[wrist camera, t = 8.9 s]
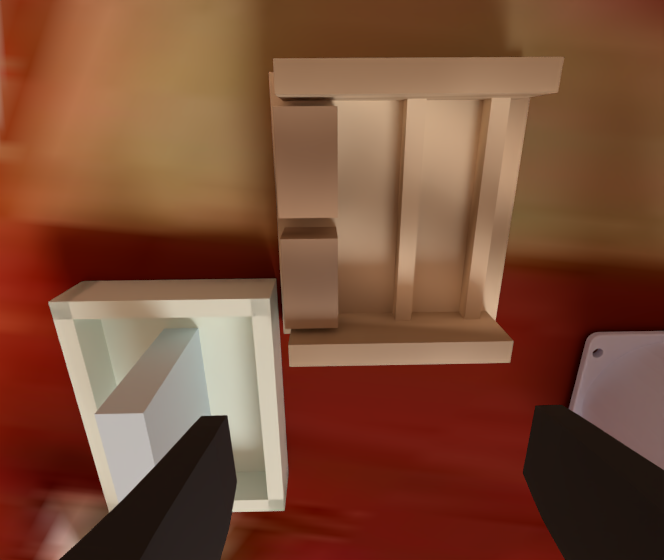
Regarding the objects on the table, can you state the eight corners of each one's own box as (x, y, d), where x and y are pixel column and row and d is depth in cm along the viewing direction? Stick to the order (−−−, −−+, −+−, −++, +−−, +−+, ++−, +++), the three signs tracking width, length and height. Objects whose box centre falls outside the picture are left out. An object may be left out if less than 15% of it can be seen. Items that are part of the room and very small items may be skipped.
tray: (288, 473, 22) (284, 510, 20) (131, 476, 22) (109, 515, 20) (276, 278, 18) (269, 298, 16) (82, 281, 18) (48, 301, 16)
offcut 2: (336, 307, 18) (338, 328, 16) (288, 308, 18) (284, 328, 16) (336, 226, 17) (338, 238, 15) (284, 227, 17) (279, 239, 15)
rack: (487, 322, 19) (521, 362, 16) (285, 325, 19) (277, 366, 16) (524, 73, 15) (580, 56, 12) (271, 74, 15) (256, 58, 12)
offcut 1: (336, 208, 16) (337, 217, 14) (283, 208, 16) (278, 218, 14) (335, 109, 15) (337, 106, 13) (278, 109, 15) (272, 106, 13)
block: (216, 451, 21) (177, 567, 15) (186, 452, 21) (136, 568, 15) (198, 327, 18) (143, 413, 13) (164, 328, 18) (94, 414, 13)
